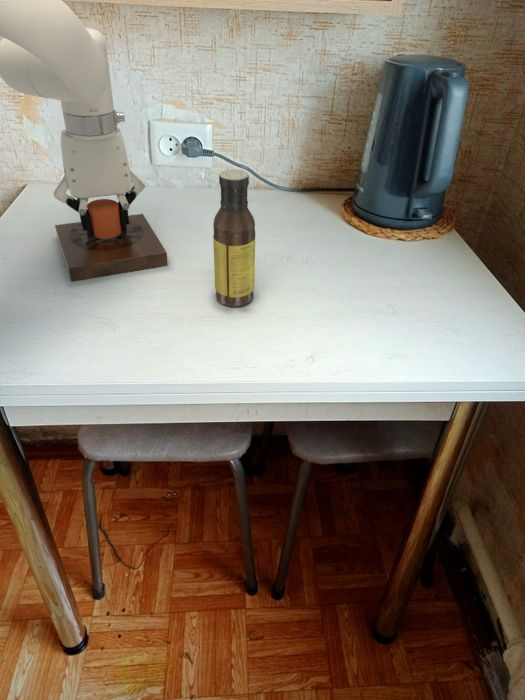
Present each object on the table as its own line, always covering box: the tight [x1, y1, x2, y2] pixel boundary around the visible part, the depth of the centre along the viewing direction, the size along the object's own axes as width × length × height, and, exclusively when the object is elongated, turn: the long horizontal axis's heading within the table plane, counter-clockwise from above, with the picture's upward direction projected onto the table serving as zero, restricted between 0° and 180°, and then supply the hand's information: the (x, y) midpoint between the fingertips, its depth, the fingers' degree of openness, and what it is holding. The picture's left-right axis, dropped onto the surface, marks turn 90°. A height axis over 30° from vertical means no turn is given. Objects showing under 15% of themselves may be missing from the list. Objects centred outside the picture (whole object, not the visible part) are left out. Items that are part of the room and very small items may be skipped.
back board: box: [54, 213, 169, 282], centre depth 90 cm, size 16×16×2 cm
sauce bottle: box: [212, 169, 256, 308], centre depth 75 cm, size 6×6×20 cm
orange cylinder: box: [87, 198, 122, 240], centre depth 88 cm, size 5×5×5 cm
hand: (106, 229), depth 90 cm, fingers closed on orange cylinder, 5 cm apart
